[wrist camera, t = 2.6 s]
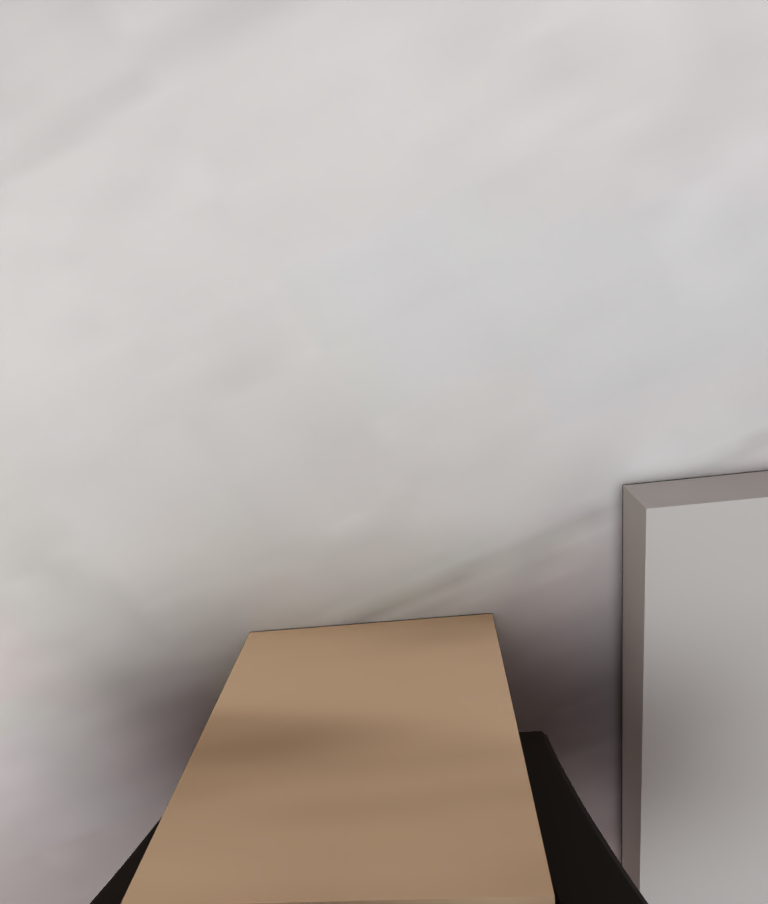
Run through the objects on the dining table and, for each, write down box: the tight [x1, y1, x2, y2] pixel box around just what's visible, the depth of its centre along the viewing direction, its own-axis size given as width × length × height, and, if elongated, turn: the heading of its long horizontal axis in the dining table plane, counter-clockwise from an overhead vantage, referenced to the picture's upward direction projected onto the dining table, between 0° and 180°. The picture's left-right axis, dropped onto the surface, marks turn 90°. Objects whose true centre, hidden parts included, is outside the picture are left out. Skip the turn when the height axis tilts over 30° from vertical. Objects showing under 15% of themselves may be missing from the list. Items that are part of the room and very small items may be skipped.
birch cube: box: [121, 614, 555, 904], centre depth 9 cm, size 5×5×5 cm
